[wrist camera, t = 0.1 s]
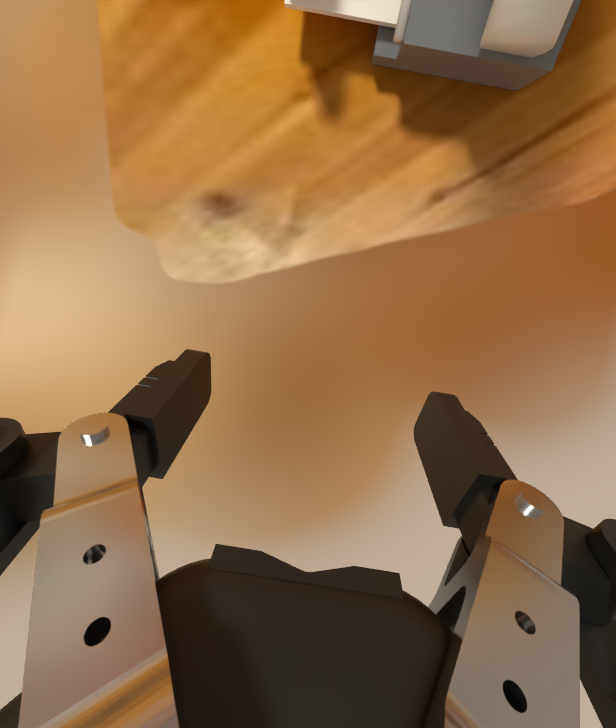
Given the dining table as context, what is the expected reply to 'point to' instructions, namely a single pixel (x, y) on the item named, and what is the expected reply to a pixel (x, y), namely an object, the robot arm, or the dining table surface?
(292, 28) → the dining table surface
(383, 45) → the dispenser
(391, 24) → the pink-tipped cream block
